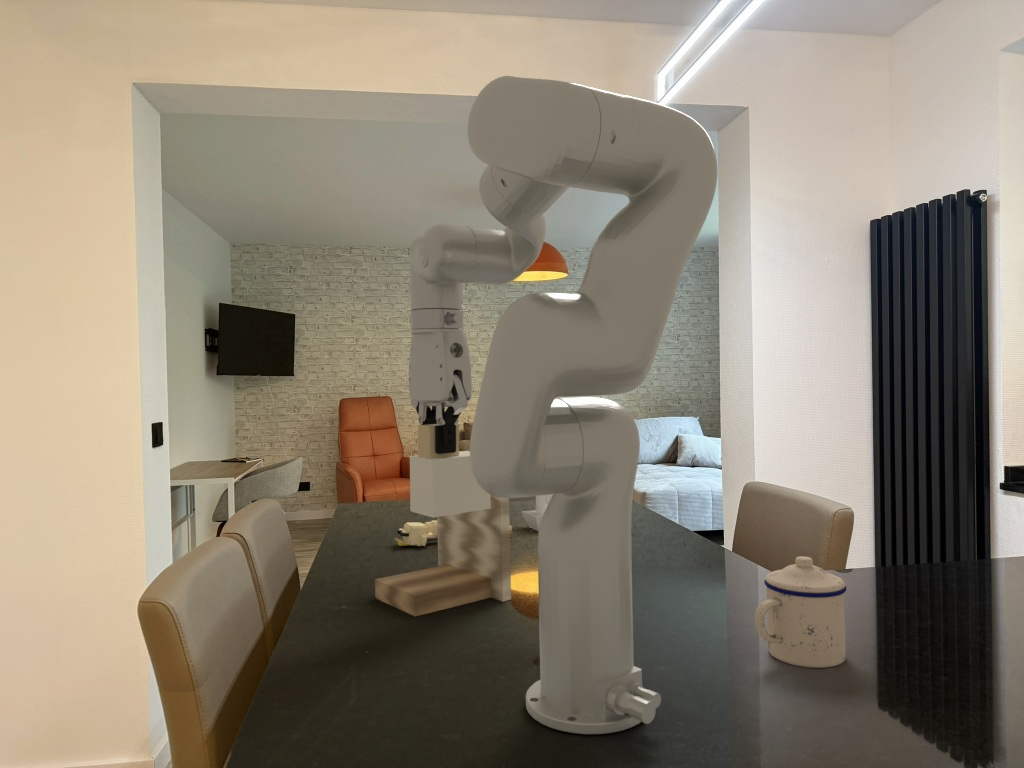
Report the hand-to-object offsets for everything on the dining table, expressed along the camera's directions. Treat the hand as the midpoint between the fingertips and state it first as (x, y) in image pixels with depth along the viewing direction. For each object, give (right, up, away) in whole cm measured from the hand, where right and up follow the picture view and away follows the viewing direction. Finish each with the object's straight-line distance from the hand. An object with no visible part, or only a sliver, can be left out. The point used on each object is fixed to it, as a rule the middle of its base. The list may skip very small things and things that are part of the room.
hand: (438, 450), depth 103 cm
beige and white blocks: (+2, -9, +1) cm, 9 cm away
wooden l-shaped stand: (-1, -24, +10) cm, 26 cm away
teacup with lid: (+44, -23, -18) cm, 53 cm away
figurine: (+18, -24, +62) cm, 69 cm away
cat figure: (-2, -25, +50) cm, 56 cm away
